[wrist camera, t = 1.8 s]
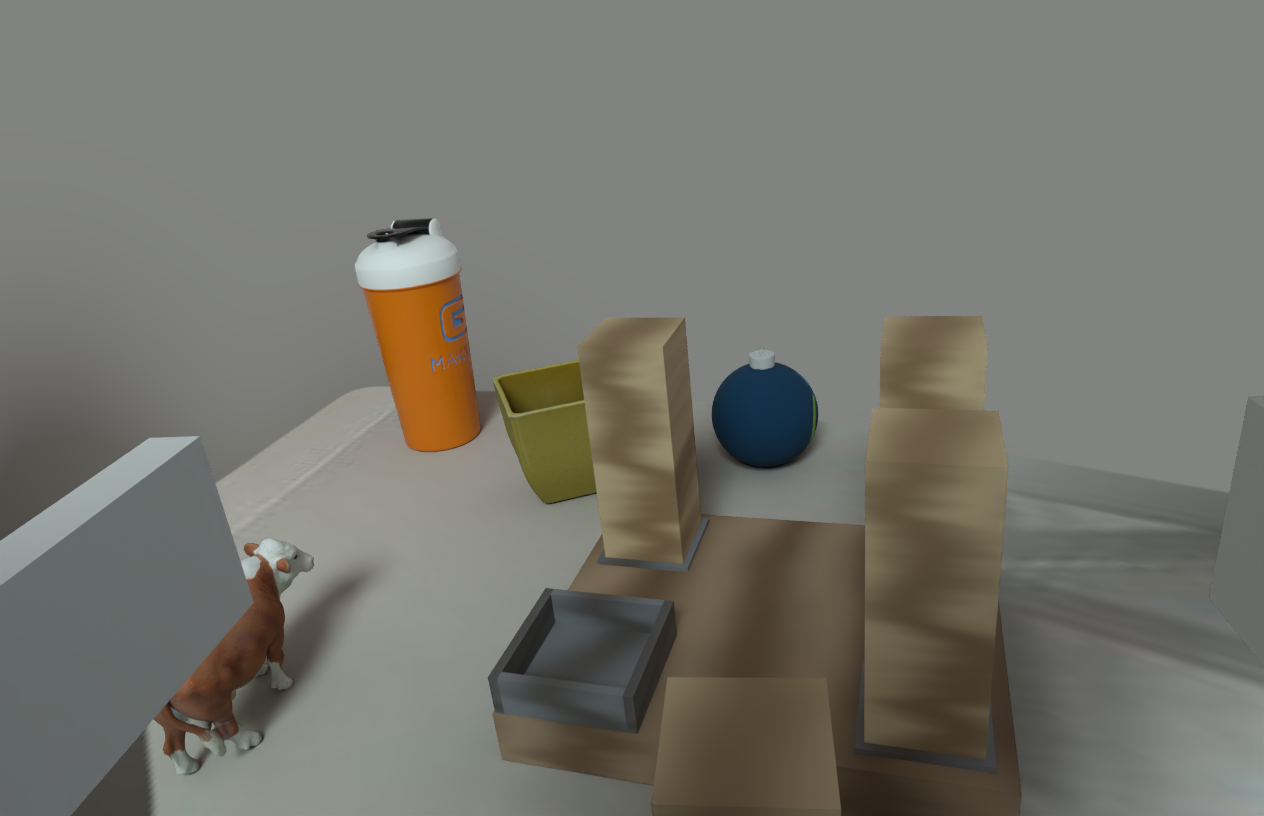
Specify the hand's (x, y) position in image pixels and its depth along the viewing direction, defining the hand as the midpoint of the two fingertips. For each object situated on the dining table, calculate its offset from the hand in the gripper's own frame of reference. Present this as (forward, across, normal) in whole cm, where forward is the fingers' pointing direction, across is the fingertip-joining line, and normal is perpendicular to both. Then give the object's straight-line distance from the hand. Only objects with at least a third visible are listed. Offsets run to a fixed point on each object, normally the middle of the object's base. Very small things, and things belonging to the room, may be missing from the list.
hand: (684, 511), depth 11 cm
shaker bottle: (+62, -29, -28) cm, 74 cm away
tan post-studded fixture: (+30, +1, -27) cm, 41 cm away
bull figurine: (+26, -28, -28) cm, 47 cm away
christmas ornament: (+54, +1, -27) cm, 61 cm away
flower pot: (+51, -15, -28) cm, 60 cm away
